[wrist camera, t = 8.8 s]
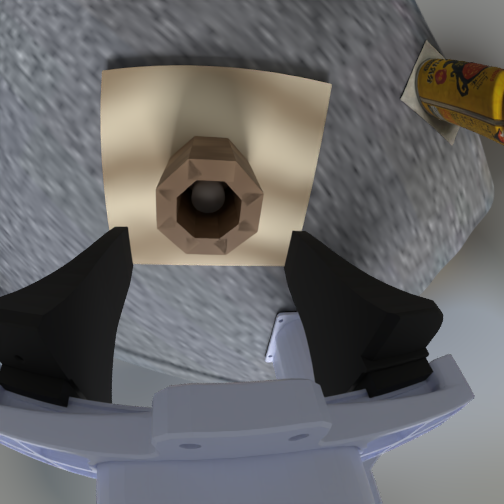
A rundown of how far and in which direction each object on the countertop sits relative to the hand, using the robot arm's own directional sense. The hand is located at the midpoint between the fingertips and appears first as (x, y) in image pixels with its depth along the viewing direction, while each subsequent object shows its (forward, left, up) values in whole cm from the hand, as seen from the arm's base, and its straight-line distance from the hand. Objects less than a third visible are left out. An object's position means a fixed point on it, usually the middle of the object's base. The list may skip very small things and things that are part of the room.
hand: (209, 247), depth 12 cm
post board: (0, 0, -10) cm, 10 cm away
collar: (0, 0, -9) cm, 9 cm away
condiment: (+11, -20, -10) cm, 25 cm away
